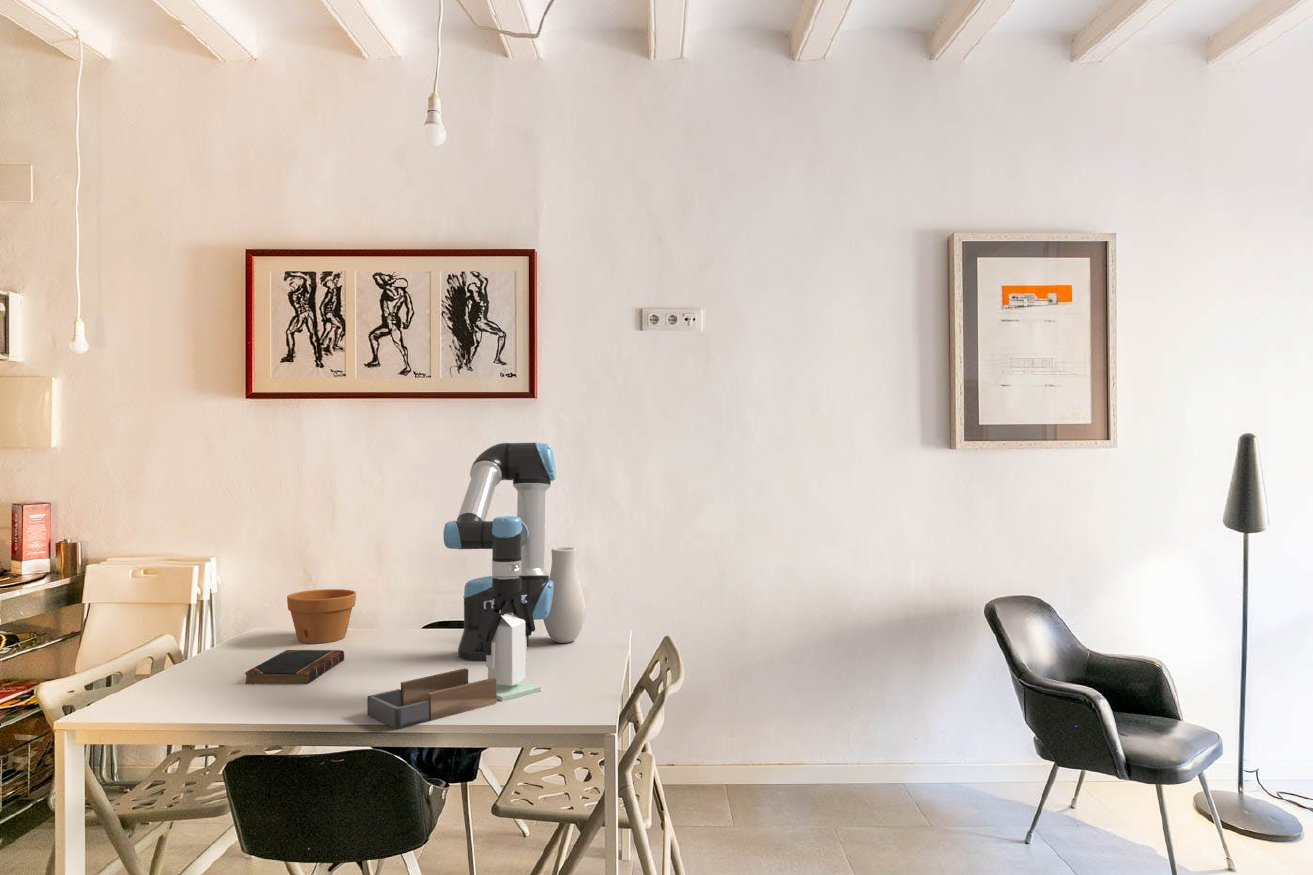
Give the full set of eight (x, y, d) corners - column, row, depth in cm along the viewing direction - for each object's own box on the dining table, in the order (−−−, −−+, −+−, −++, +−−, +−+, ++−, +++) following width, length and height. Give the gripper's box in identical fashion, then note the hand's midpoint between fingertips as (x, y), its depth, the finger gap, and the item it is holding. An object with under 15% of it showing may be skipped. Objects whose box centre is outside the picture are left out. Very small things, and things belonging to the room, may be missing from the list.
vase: (551, 648, 261) (551, 552, 261) (536, 639, 273) (536, 547, 273) (591, 643, 267) (591, 549, 267) (575, 634, 279) (575, 545, 279)
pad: (472, 690, 216) (472, 686, 216) (511, 681, 224) (511, 677, 224) (501, 701, 207) (501, 697, 207) (540, 691, 215) (540, 687, 215)
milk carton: (525, 678, 218) (525, 606, 218) (512, 686, 211) (512, 611, 211) (501, 676, 220) (501, 604, 220) (487, 683, 213) (487, 609, 213)
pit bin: (367, 715, 196) (367, 696, 196) (398, 707, 201) (398, 689, 201) (396, 729, 186) (396, 709, 186) (428, 721, 192) (429, 701, 192)
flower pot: (309, 630, 286) (310, 587, 286) (367, 632, 283) (367, 588, 283) (273, 645, 265) (273, 598, 265) (335, 647, 262) (335, 600, 262)
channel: (400, 707, 202) (400, 682, 202) (465, 691, 215) (465, 668, 215) (430, 720, 192) (430, 694, 192) (496, 703, 205) (496, 678, 205)
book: (286, 661, 247) (243, 686, 222) (286, 649, 247) (243, 672, 222) (344, 661, 246) (308, 686, 221) (344, 649, 246) (308, 672, 221)
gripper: (479, 583, 205) (478, 674, 205) (549, 573, 221) (549, 658, 221) (462, 579, 211) (462, 669, 210) (532, 570, 226) (532, 653, 226)
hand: (506, 663), depth 216 cm, fingers closed on milk carton, 9 cm apart
